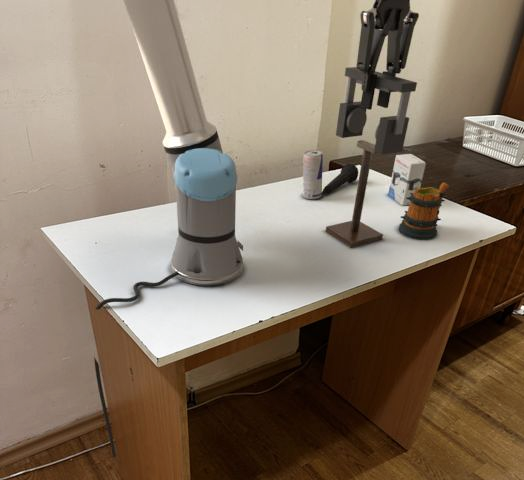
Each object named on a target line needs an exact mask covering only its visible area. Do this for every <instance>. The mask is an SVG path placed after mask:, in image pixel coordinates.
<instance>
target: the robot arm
mask: <svg viewBox="0 0 524 480" xmlns="http://www.w3.org/2000/svg"><path fill="white" fill-rule="evenodd" d="M123 3H124V6H125V9H126V12H127V15H128V18H129V21H130V24H131V27H132V30H133V34H134V37H135V39H136V43H137V45H138V49H139V52H140V56H141V58H142V62H143V64H144V67H145V70H146V74H147V76H148V80H149V82H150V85H151V88H152V91H153V95H154V99H155V101H156V103H157V107H158V110H159V113H160V117H161V119H162V122H163V125H164V128H165V131H166V132H165V136H164V138H163V140H162V146H163V149H164V151H165V155H166V158H167V160H168V164H169V167H170V169H171V170H170V171H171V173H172V176H173V182H174V188H175V189H174V190H175V196H176V197H175V199H176V215H177V232H178V233H177V239H176V242H175V246H174V248H173V252H172V256H171V260H170V263H171V264H170V265H171V272H172V273H171V274H169V275H167V276H166V277H164V278H163V279H161V280H160V281H157V282H149V281H138V282H136V283H134V284H133V287H132V288H133V291H134V296H131V297H125V298H124V297H109V298H106V299H103V300H102V301H100V302H99V303H98V304H97V305H96V307H95V308H94V309H95V310H100V309H101V308H102V307H104V306H105V305H107V304H110V303H131V302H134V301H137V300H138V299H139V298H140V292H139V289H138V288H139V287H141V286H144V287H159V286H162V285H164V284H165V283H167V282H169V281H170V280H172V279H173V278H177V279H179V280H180V281H182V282H183V283H184V282H185V283H187V284H190V285H194V286H203V287H210V286H211V287H212V286H213V287H214V286H221V285H224V284H228V283H230V282H233V281H235V280H236V279H238V278H239V277H241V275H242V273H243V270H244V259H243V256H242V252H244V245H243V244H242V243H241V242H240V241H239V240H237V236H236V204H237V203H236V202H237V200H236V199H237V184H238V183H237V182H238V174H237V166H236V162H235V161H234V159H233V158H232V157H231V156H230V155H229V154H227V153H226V152H224V151H223V148H222V144H221V140H220V137H219V133H218V129H217V127H216V126H215V125H214V124H212V122H211V123H210V122H209V121H208V120H207V116H206V113H205V109H204V105H203V102H202V98H201V96H200V95H201V94H200V91H199V90H200V89H199V87H198V84H197V79H196V76H195V73H194V69H193V68H194V67H193V66H192V61H191V58H190V54H189V50H188V46H187V44H186V39H185V35H184V32H183V29H182V25H181V22H180V19H179V14H178V10H177V7H176V3H175V0H123ZM419 16H420V14H419V12H414V11H412V9H411V0H375V1H374V3H373V4H372V8H370V9H369V10H361V12H360V24H361V28H360V33H359V43H358V50H357V51H358V53H357V57H356V60H357V61H356V67H357V69H360V71H361V72H363V81H362V84H361V87H360V88H361V91H362V94H361V100H360V101H361V105H360V107H363V108H365V109H366V110H369V111H370V110H372V108H373V103H374V98H375V97H374V96H375V93H376V89H375V86H376V80H377V74H374V73H375V71H376V70H377V66H378V62H379V59H380V56H381V53H382V49H383V46H384V43H385V40H386V37H387V43H386V45H387V47H386V67H385V69H386V71H383V70H382V73H384V74H388V75H391V76H395V77H397V76H396V75H397V74H401V73H402V70H404V69H405V68H406V65H407V61H408V58H409V57H408V56H409V53H410V49H411V43H412V39H413V34H414V30H415V26H416V24H417V22H418V20H419ZM378 90H379V89H378ZM391 94H392V92H385V91H382V90H379V91H378V96H377V102H376V106H377V107H381V108H384V109H388V108H389V105H390V98H391ZM241 251H242V252H241ZM93 361H94V370H95V376H96V383H97V389H98V393H99V394H98V395H99V398H100V403H101V407H102V412H103V416H104V421H105V426H106V429H107V434H108V439H109V444H110V450H111V455H112V458H116V457H117V454H116V447H115V442H114V437H113V433H112V432H113V431H112V427H111V423H110V418H109V414H108V409H107V405H106V399H105V395H104V390H103V383H102V378H101V370H100V364H99V363H98V361H97V359H96V357H95V356H94V357H93Z"/></svg>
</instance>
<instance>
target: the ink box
mask: <svg viewBox="0 0 524 480" xmlns="http://www.w3.org/2000/svg"><path fill="white" fill-rule="evenodd" d="M393 163H394V164H393V168H392V174H391V178H390V183H389V188H388V193H387V195H388V196H389V197H390V198H392V199H393V200H395V202H397V203H398V204H400V205H401V206H410V203H411V201H410V200H408V199H406V198H407V197H411V194H410V193H414V191H415V189H416V188H417V189H418V188H421V186H422V181H423V177H424V173H425V169H426V165H427V163H426V162H425V161H424V160H423V159H421V158H419V157H417V156H416V155H414V154H412V153H405V154H404V153H403V154H396V155H395V158H394V162H393Z"/></svg>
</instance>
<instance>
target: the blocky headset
mask: <svg viewBox="0 0 524 480" xmlns="http://www.w3.org/2000/svg"><path fill="white" fill-rule="evenodd" d="M374 74H377V80H376V86H375V90H382V91H385V92H391V93H401V94H400V98H399V104H398V108H397V114H396V115H392V116H391V115H390V116H381V117H379V123H378V125H377V127H376V129H375V133H374V137H375V144H374V145H375V149H374V152H376V153H377V154H379V155H380V156H381V155H390V154H395V153H402V152H403V149H404V144H405V140H406V135H407V131H408V126H409V121H410V117H408V116H407V111H408V107H409V103H410V97H411V93H412V92H416V89H417V85H418V82H416V81H414V80H409V79H406V78H402V77H399V76H396V77H395V76H391V75H388V74H384V73H383V72H380V71H376V70H375V73H374ZM344 77H347V78H348V79H347V87H346V93H345V100H344V102H340V103H339V108H338V109H339V110H338V117H337V123H336V131H335V136H336V137H339V138H341V139H345V138H346V139H347V138H354V137H361V136H363V133H364V128H365V126H366V123H367V118H368V117H367V109H365V108H363V107H360V105H361V100H359V101H354V99H355V94H356V88H357V87H356V86H357V84H358V85H359V84H360V85H362V81H363V72H361V71H360V69H357V66H351V67H345V71H344Z"/></svg>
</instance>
